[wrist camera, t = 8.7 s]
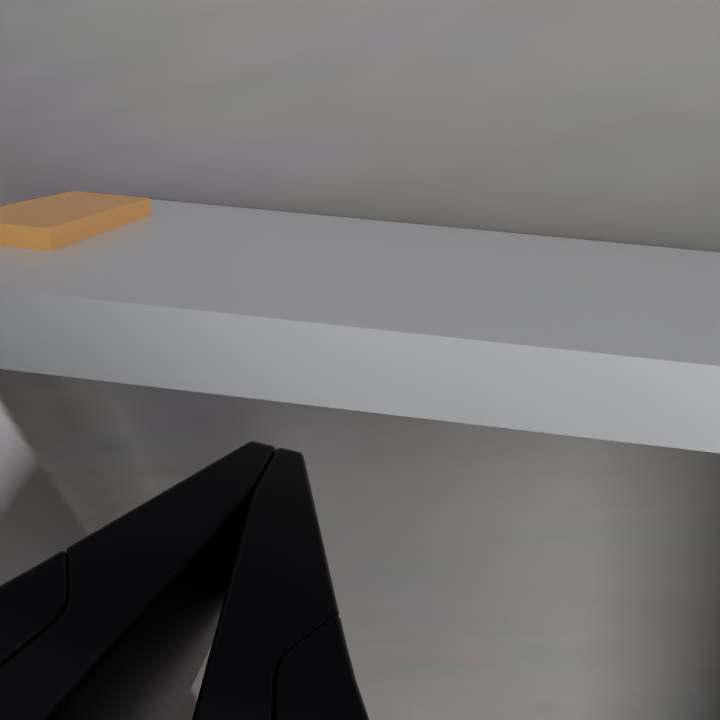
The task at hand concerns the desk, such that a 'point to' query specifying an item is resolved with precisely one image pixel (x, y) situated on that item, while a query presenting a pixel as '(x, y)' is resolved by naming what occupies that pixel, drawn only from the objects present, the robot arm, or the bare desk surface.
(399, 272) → the door
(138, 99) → the desk surface
